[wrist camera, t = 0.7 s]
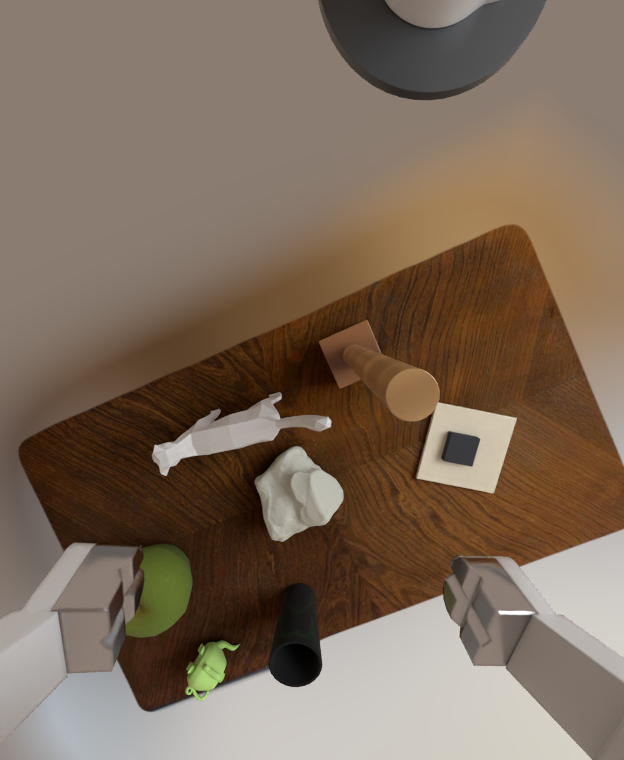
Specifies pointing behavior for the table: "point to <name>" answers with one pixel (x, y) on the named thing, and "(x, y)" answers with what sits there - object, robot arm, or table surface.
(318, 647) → the cup
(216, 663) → the green kettle
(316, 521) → the decorative stone
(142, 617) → the apple
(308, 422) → the cat figurine
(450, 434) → the felt pad
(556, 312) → the table surface
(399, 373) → the wooden post stand
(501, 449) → the tile
